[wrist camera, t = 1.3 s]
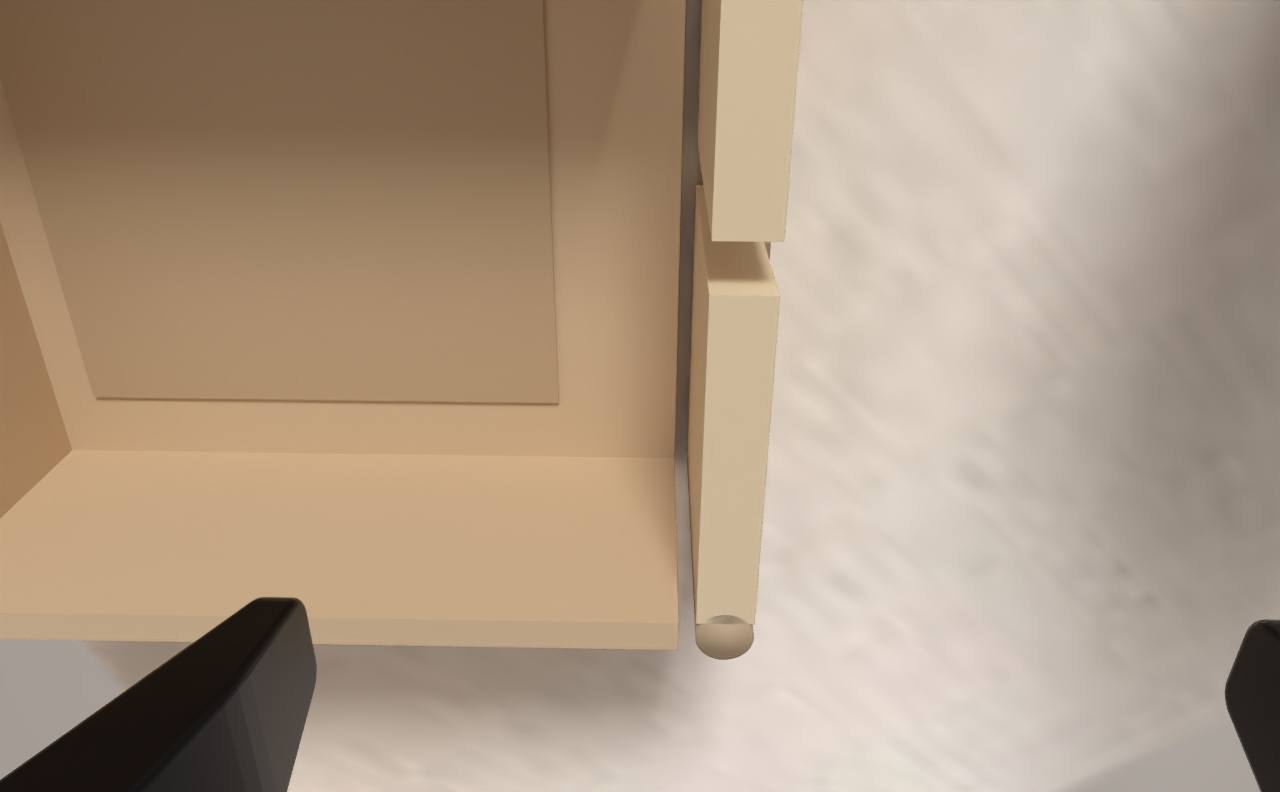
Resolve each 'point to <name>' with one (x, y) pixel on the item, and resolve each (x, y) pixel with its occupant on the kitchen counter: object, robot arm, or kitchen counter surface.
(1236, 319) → the kitchen counter surface
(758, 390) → the flap far
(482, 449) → the carton
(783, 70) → the flap near
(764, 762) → the kitchen counter surface
